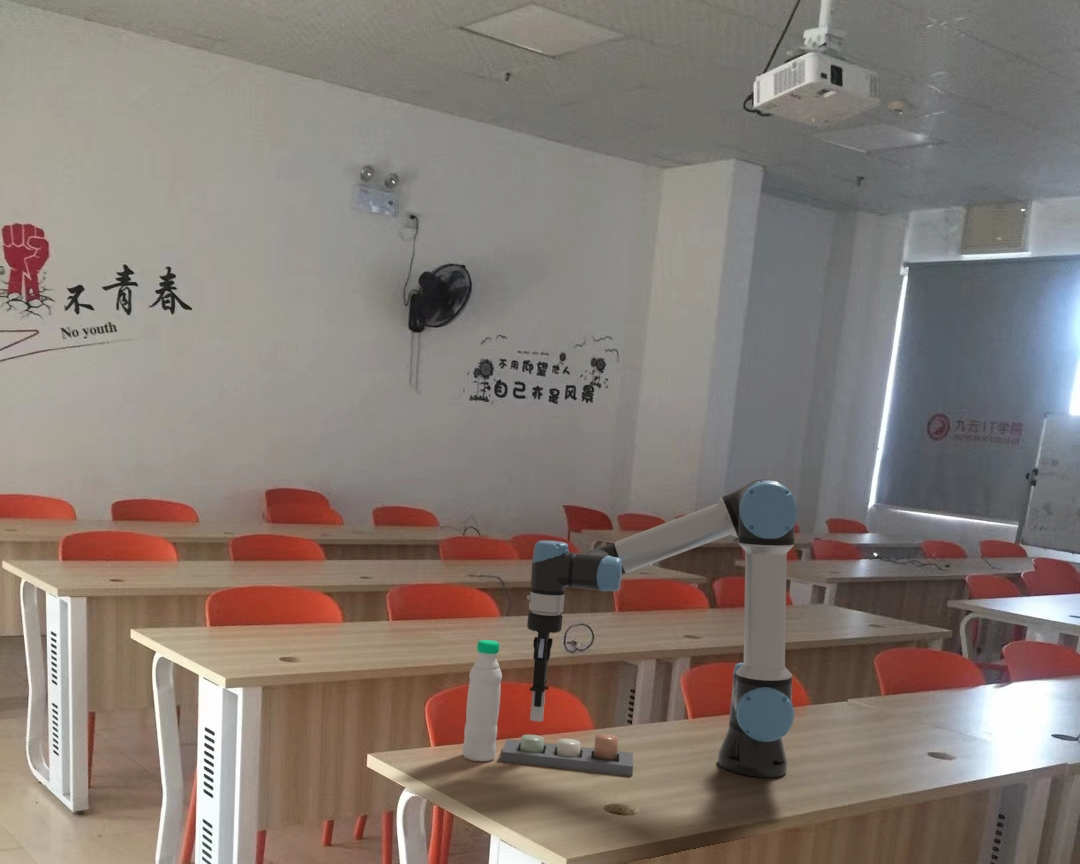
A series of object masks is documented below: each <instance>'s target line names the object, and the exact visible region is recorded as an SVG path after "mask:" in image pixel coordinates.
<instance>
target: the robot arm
mask: <svg viewBox="0 0 1080 864" xmlns="http://www.w3.org/2000/svg"><path fill="white" fill-rule="evenodd" d="M798 509H799V508H798V503H797V500H796V498H795V496H794V494H793V492H791V490H790V489H789V488H788V487H787V486H786V485H784V484H782V483H780V482H778V481H775V480H770V479H757V480H754V481H751V482H749V483H747V484H746V485H744V486H742V487H740V488H739V489H737V490H735V491H732V492H730V493H728V494H726V495H723V496H721V497H720V498H719V499H718V502H717V503H715V504H712V505H709V506H707V507H704V508H701V509H699V510H696V511H694V512H691V513H688V514H686V515H682V516H680V517H677V518H675V519H671V520H669V521H667V522H665V523H662V524H660V525H657V526H656V525H655V526H654V527H651V528H649V529H646V530H644V531H641V532H637V533H635V534H632V535H629V536H628V537H624V538H622V539H620V540H617V541H615V542H613V543H609V544H606V545H604V546H602V547H595V548H593V549H591V550H589V551H588V552H587V553H577V552H572V551H570V550H569V544H568V543H566V542H563V541H558V540H538V541H537V542H536V543H535V544H534V547H533V555H532V561H531V563H532V564H531V576H530V577H531V578H530V589H529V591H530V592H529V594H528V595H527V596H526V599H527V600H528V601H529V605H528V609H529V610H530V611H529V612H528V613H527V624H526V628H527V629H529V631H532V632H537V636H535V637H534V639H533V645H532V646H533V660H534V662H533V663H534V664H533V678H532V686H530V687H529V691H530V692H532V693H531V696H532V697H531V706H530V715H529V717H530V718H529V720H530V721H531V722H532V721H533V722H540V723H541V722H543V721H544V714H545V713H544V711H545V701H546V690H547V691H548V690H549V688H550V687H549V686H548V685H547V684H548V683H547V682H548V680H547V676H548V668H549V667H548V664H549V660H550V658H551V651H552V646H553V643H554V641H553V638H550V636H551V635H550V634H551V633H552V634H556V633H560V632H561V631H562V628H563V627H562V626H563V617H564V616H563V615H562V613H563V612H564V604H565V596H566V595H565V589H566V588H576V589H585V590H592V591H593V590H594V591H599V592H602V593H603V592H617V591H619V590H620V588H621V582H622V575H625V574H628V573H630V572H633V571H635V570H638V569H641V568H645V567H647V566H649V565H653V564H655V563H658V562H660V561H663V560H665V559H668V558H671V557H674V556H676V555H679V554H682V553H685V552H687V551H690V550H692V549H695V548H697V547H701V546H705V545H706V544H710V543H711V542H715V541H717V540H720V539H723V538H726V537H728V536H733V537H735V538H738V545H739V546H740V547H741V548H742V549H743V550H744V552H745V557H744V558H745V562H744V564H745V567H744V568H745V569H744V574H745V575H744V577H745V578H744V612H743V614H744V619H743V620H744V623H743V625H744V626H743V627H744V628H743V662H739V663H736V664H735V665H734V668H733V673H732V678H733V679H732V687H731V688H732V690H731V700H730V712H729V722H728V729H727V733H726V734H725V737H724V740H723V741H722V744H721V746H720V748H719V751H718V757H717V758H718V759H717V763H718V765H719V766H721V767H722V768H724V769H725V770H726V771H727V770H728V771H730V772H733V773H735V774H740V775H744V776H748V777H755V778H778V777H782V776H785V775H786V774H787V770H788V769H787V767H788V760H787V757H786V751H785V747H784V742H783V737H785V736H786V735H787V734H788V733H789V731H790V730H791V728H792V726H793V723H794V720H795V709H794V705H793V702H792V701H793V699H792V698H793V693H792V692H793V690H792V689H793V674H792V673H791V671H790V670H789V669H788V668H787V667H786V620H787V619H786V615H787V613H786V612H787V565H788V564H787V563H788V562H787V561H788V558H787V557H788V556H787V554H788V552H789V551H790V550H791V549H792V548H793V547H794V546H795V530H796V529H795V528H796V526H795V524H796V521H797V518H798V516H799V515H798V514H799V512H798V511H799V510H798Z"/></svg>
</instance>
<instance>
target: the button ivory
mask: <svg viewBox="0 0 1080 864" xmlns="http://www.w3.org/2000/svg"><path fill="white" fill-rule="evenodd" d="M557 744H558V745H557V755H559V756H568V757H578V758H580V747H582V746H581V744H582V742H581V741H580V740H577V739H572V738H559V739H558V740H557Z"/></svg>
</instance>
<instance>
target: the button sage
mask: <svg viewBox="0 0 1080 864" xmlns="http://www.w3.org/2000/svg"><path fill="white" fill-rule="evenodd" d="M520 737H521V738H520V740H521V746H520V751H523V752H532V753H541V754H543V747H544V743H545V737H543V736H540V735H538V734H537V735H536V734H523V735H520Z"/></svg>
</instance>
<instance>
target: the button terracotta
mask: <svg viewBox="0 0 1080 864" xmlns="http://www.w3.org/2000/svg"><path fill="white" fill-rule="evenodd" d="M618 745H619V737H618V736H617V735H614V734H609V733H597V734H595V737H594V745H593V746H594V747H593V748H594V756H596V757H598V758H602V759H615V758H616V757H617V751H618V750H619V749H618V747H619V746H618Z"/></svg>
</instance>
